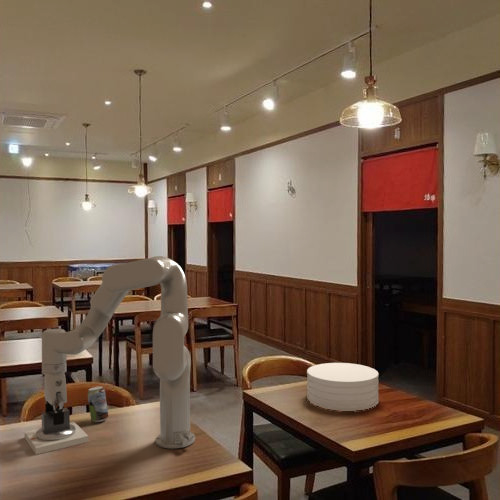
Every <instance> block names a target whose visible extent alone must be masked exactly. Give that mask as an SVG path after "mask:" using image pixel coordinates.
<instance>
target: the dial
mask: <svg viewBox="0 0 500 500" xmlns="http://www.w3.org/2000/svg"><path fill="white" fill-rule="evenodd" d="M53 413H54V411H50V412H45V411H44V412H41V427H40V428H38V429H39V430H37V432H36V437H37V438H38V439H40V440H45V441H52V440H59V439H64V438H67V437H69V436H71V435H73V434H74V433H75V426H74V425H72V424H70V422H71V421H70V420H71V419H70V416H71V415H70V409H68V408H64V423H63V424H59V425H53Z"/></svg>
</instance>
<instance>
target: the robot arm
mask: <svg viewBox="0 0 500 500" xmlns="http://www.w3.org/2000/svg"><path fill="white" fill-rule="evenodd" d="M101 276H102V277H101V282H102V283H101V284H100V286H99V287H98V288H97V290H96V291H95V293H93V294H92V297H91V298H90V301H89V304H90V309H89V311H88V313H87V314H86V316H85V317H84V319H83V320H82V321H81V323H80V325H79V326H78V327H77V328H74V329H72V330H69V331H66V330H65V329H63V328H49V329H45V330H43V332H42V333H41V374H42V375H43V376H44V377H43V378H44V380H43V381H44V385H43V389H44V390H43V393H44V394H43V396H44V399H45V400H44V401H45V402H44V403H45V405H44V407H45V408H44V409H45V410H44V413H45V412H50V411H54V413H53V425H59V424H63V423H64V409H65V406H64V404H67V402H68V398H67V397H68V395H67V394H68V393H67V382H66V374H65V373H67V371H68V370H67V365H68V364H67V355H71V356H74V355H79V354H81V353H82V352H84V351H86V350H87V349H89V348H91V346H93V345H94V344H95V343H96V341H97V340H98V339H99V337H100V336H101V335H102V333H103V332H104V330H105V328H106V327H107V325H108V324H109V322H110V320H111V319H112V317H113V315H114V314H115V312H116V310H117V309H118V308H119V306H120V305H121V303H122V302H123V300H124V299H125V298H126V296H127V294H129V292H130V291H134V290H138V289H142V288H143V289H144V288H147V287H148V288H149V287H154V286H157V285H159V284H160V289H161V292H160V316H159V317H158V318H157V319H156V321H155V323H154V324H153V329H152V368H153V371H154V374H155V375H156V377H158V378H159V414H160V415H159V417H160V418H159V419H160V421H159V423H160V424H159V425H160V426H159V427H160V430H159V431H160V433H159V434H158V435H157V436H156V437H155V444H156V445H157V446H158V447H160V448H164V449H173V450H174V449H175V450H176V449H182V448H185V447H188V446H191V445H192V444H194V443H195V441H196V435H195V434H194V433H193V432H191V397H190V396H191V390H190V388H191V364H192V361H191V353H190V351H189V349H188V347H186V346H185V336H186V334H187V333H188V330H189V310H188V309H189V308H188V307H189V305H188V304H189V303H188V284H187V282H188V281H187V278H186V274H185V272H184V270H183V268H182V267H181V265H179V263H177V262H176V261H174V260H173V259H171V258H169V257H166V256H164V255H163V256H160V255H158V256H153V257H148V258H144V259H139V260H134V261H131V262H123V263H122V262H121V263H117V264H116V263H115V264H112V265H110V266H108V267H107V268H106V269H105V270H104V272H103V273H102V275H101Z"/></svg>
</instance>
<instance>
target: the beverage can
mask: <svg viewBox="0 0 500 500" xmlns="http://www.w3.org/2000/svg"><path fill="white" fill-rule="evenodd" d="M106 397H107V396H106V390H105V388H104V387H103V386H101V385H100V386H95V387H91V388H89V389H88V392H87V400H88V407H89V414H90V420H91V421H92V422H94V423H100V422H103V421H106V420H107V418H109V411H108V404H107V398H106Z"/></svg>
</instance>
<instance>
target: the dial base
mask: <svg viewBox="0 0 500 500" xmlns="http://www.w3.org/2000/svg"><path fill="white" fill-rule="evenodd" d="M70 424H72V425H74V426H75V433H74V434H73V435H71V436H69V437H67V438H64V439H59V440H52V441H45V440H40V439H38V438H37V437H36V432H37V430H39V429H40V428H36V429H31V430H26V431H24V432H23V433H24V439H25V440H26V442H27V443H28V444H29V447H30V448H31V449H32V451H33V452H34V453H35V455H39V454H43V453H48V452H53V451H56V450H62V449H64V448H65V449H66V448H69V447H70V448H71V447H73V446H79V445H82V444H86V443H89V435H88V434H87V433H86V432H85V431H84V430H83V429H82V428H81V427H80V426H79V425H78V424H77V423H76V422H75V421H70Z"/></svg>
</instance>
